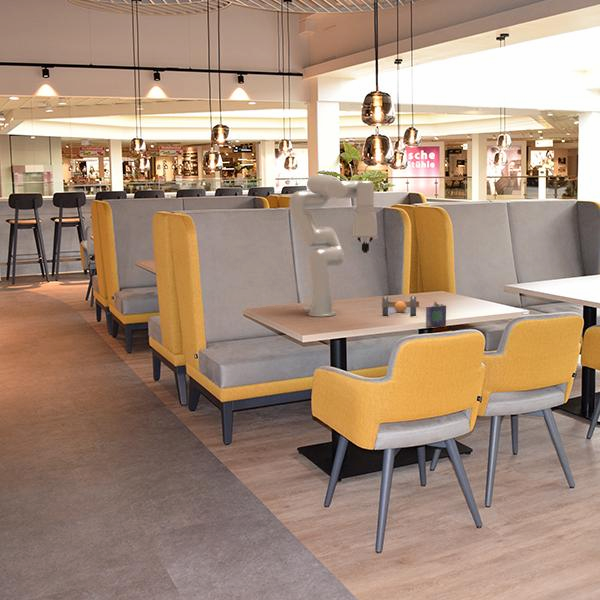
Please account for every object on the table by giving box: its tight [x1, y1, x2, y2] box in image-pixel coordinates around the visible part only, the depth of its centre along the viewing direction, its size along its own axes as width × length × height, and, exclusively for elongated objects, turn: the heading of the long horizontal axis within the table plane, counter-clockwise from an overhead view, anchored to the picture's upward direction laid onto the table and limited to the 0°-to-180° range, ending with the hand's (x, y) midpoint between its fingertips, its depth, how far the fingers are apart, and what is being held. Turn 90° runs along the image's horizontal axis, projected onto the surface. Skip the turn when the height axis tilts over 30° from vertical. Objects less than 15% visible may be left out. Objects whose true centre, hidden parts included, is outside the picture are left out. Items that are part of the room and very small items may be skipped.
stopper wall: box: [388, 300, 420, 308], centre depth 390 cm, size 18×2×2 cm, turn 82°
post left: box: [381, 295, 389, 317], centre depth 364 cm, size 3×3×9 cm
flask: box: [425, 300, 447, 328], centre depth 336 cm, size 9×3×11 cm, turn 109°
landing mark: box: [388, 307, 410, 313], centre depth 377 cm, size 14×14×1 cm
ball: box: [393, 300, 407, 313], centre depth 372 cm, size 6×6×6 cm
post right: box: [409, 296, 417, 317], centre depth 362 cm, size 3×3×9 cm
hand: (365, 252), depth 342 cm, fingers closed
